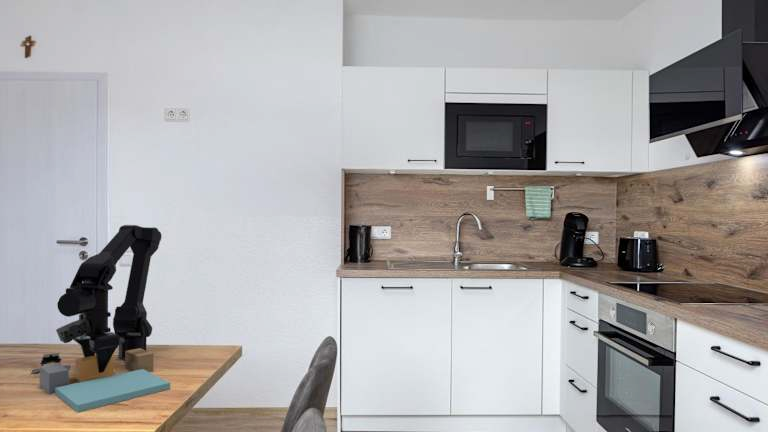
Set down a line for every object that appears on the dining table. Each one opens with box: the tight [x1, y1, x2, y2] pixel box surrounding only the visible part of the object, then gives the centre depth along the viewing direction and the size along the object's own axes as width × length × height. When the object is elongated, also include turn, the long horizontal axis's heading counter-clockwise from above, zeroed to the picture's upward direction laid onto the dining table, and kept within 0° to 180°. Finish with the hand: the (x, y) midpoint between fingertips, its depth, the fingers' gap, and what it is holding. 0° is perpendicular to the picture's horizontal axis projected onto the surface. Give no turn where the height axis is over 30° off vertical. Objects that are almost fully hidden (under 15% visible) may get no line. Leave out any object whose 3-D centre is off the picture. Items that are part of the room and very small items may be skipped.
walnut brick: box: [124, 348, 154, 373], centre depth 135 cm, size 8×4×5 cm, turn 50°
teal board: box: [54, 369, 171, 413], centre depth 118 cm, size 20×16×2 cm
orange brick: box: [74, 354, 115, 382], centre depth 130 cm, size 8×4×5 cm, turn 136°
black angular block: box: [29, 352, 72, 376], centre depth 135 cm, size 12×7×5 cm, turn 120°
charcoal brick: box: [38, 363, 70, 395], centre depth 120 cm, size 8×4×5 cm, turn 48°
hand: (94, 368), depth 130 cm, fingers open, 9 cm apart
